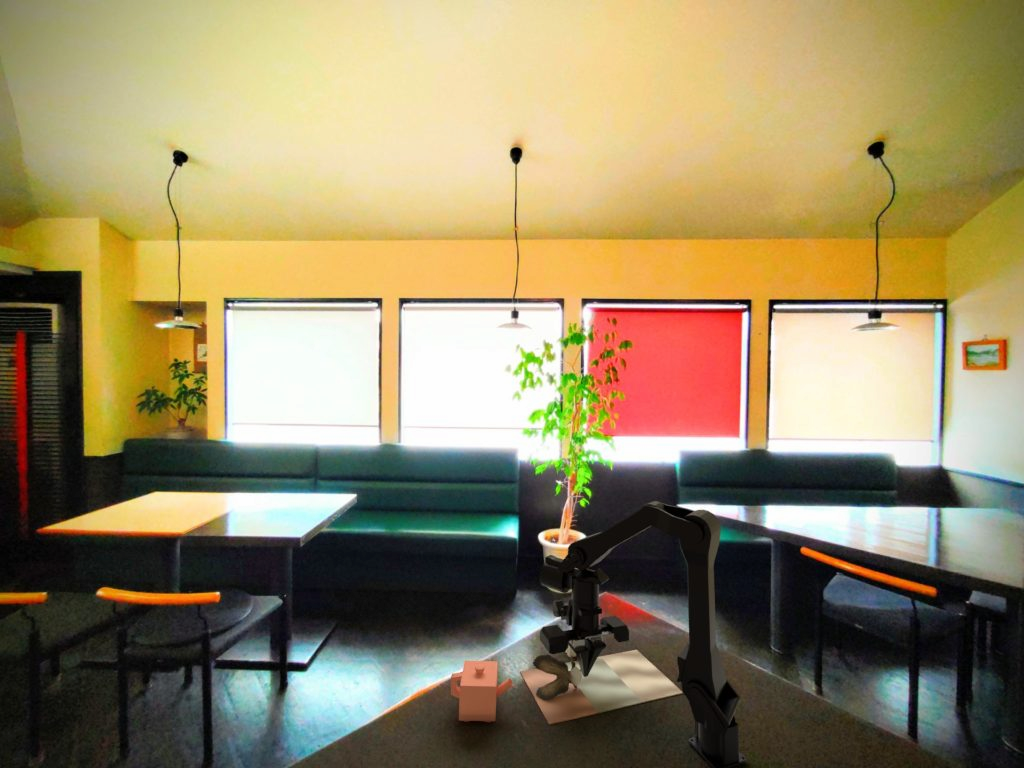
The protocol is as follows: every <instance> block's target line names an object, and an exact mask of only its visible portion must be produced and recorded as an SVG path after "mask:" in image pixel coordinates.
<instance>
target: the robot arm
mask: <svg viewBox="0 0 1024 768" xmlns="http://www.w3.org/2000/svg"><path fill="white" fill-rule="evenodd" d="M650 527H654V528H656V529H658V530H660V531H661V532H663V533H664V534H666V535H668V536H670V537H672V538H676V539H678V543H679V547H680V550H681V553H682V554H683V558H684V559H685V562H686V568H687V569H686V570H687V576H686V577H687V606H688V607H687V608H688V609H687V610H688V643H687V644H686V646H685V647H684V648H683V649H682V651H680V653H679V654H678V655H677V658H676V659H677V660H676V661H677V667H678V677H677V679H676V682H677V683H680V688H681V691H682V692H683V694H682V695H683V696H684V697H685V698H686V699H687V700H688V703H689V705H690V709H691V713H692V714H693V715H692V716H693V719H694V735H695V736H693V737H690V738H689V739H688V743H689V744H690V745H691V746H692V747H693V748H694V750H695V751H696V752H697V753H698V754H699V755H700V756H701V757H702V759H704V760H705V761H706V763H707V764H708V765H709V766H710V767H711V768H733V767H737V766H740V765H744V764H746V763H747V757H746V756H745V755H744V754H743V753H742V752H740V742H739V741H740V737H739V736H740V735H739V734H740V732H739V731H740V730H739V728H740V727H739V724H738V723H737V722H736V718H735V717H736V716H734V715H735V713H736V711H737V708H738V706H739V704H740V702H741V696H740V694H739V693H738V692H737V691H736V689H735V688H734V687H733V686H732V684H731V683H730V681H729V680H728V679H727V677H726V671H725V666H724V662H723V658H722V656H721V653H720V651H719V648H718V646H717V633H716V630H717V629H716V628H717V627H716V602H715V601H716V597H715V595H716V594H715V570H714V569H715V566H714V565H715V560H716V556H717V553H718V550H719V546H720V539H721V533H722V524H721V522H720V519H719V518H718V517H717V516H716V515H715V514H714V513H712V512H711V511H709V510H706V509H696V510H693V509H689V508H688V507H687V508H685V507H681V506H675V505H670V504H667V503H664V502H661V501H657V500H654V501H651V502H647V503H646V504H644V505H642V506H641V508H640V509H637V511H634V512H633V513H631V514H630V515H628V516H627V517H625V518H623V519H621V520H620V521H618V522H616V523H614V524H612V525H611V526H610V527H608V528H606V529H604V530H602V531H600V532H597V533H593V534H591V535H588V536H585V537H583V538H581V539H577V540H575V541H573V542H571V543H570V544H569V545H568V547H567V554H566V556H565V557H564V558H560V557H557V556H556V555H552V554H549V555H546V556H545V557H544V559H545V560H544V563H543V564H542V566H541V569H540V572H539V576H538V577H539V583H540V585H541V586H543V587H546V588H548V589H552V590H555V591H557V592H560V593H563V594H566V593H567V594H568V592H569V591H570V590H571V599H568V602H564V601H563V600H559V599H558V600H553V602H552V612H553V617H555V618H560V619H561V621H565V623H566V625H567V627H571V629H568V630H562V628H561V627H560V626H559V625H558V624H554V625H553V624H552V625H547V626H542V627H541V629H540V631H539V641H540V643H542V645H543V647H544V648H545V649H546V650H547V652H548V653H549V655H557V654H561V653H566V652H565V651H566V650H567V648H568V645H569V646H570V647H571V649H572V650H573V651H574V652H575V653H576V656H575V657H576V659H577V661H578V663H579V666H580V669H581V672H582V675H583V676H584V677H587V676H588V675H589V673H590V671H591V669H592V667H593V665H594V663H595V661H596V659H597V658H598V657H600V655H601V653H602V651H603V650H605V649H607V644H606V643H605V642H604V636H609V635H612V634H613V639H614V640H615V641H616V642H617V643H623V642H628V641H630V639H631V636H630V634H631V631H630V628H629V626H628V625H627V624H626V623H625V622H624V621H623V620H621V619H620V618H619V617H618V616H616V615H610V616H603V617H601V618H600V617H599V615H602V614H603V608H602V607H601V606H600V598H599V597H600V593H599V592H600V586H601V585H603V584H604V583H606V582H607V581H609V579H610V578H609V576H607V574H606V573H604V571H603V570H602V568H598V569H596V570H594V569H590V568H591V567H593V566H595V565H596V564H598V563H600V562H601V561H602V560H603V559H605V557H607V556H608V555H609V554H610V553H611V552H612V550H613V549H615V548H616V547H617V546H619V545H621V544H622V543H623V542H624V543H625V542H626V541H627V540H629V539H631V538H633V537H635V536H636V535H638V534H640V533H641V532H644V531H645V530H647V529H649V528H650Z"/></svg>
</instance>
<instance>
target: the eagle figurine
mask: <svg viewBox="0 0 1024 768" xmlns="http://www.w3.org/2000/svg"><path fill="white" fill-rule="evenodd" d="M573 661H574V657H573V656H571V657H570V662H571V665H572V668H571V671H568V665H567V664H566V663H567V662H565V661H563V660H559V659H557V658H555V657H553V656H551V654H540V655H537V656H536V657H535V658H534V659H533V662H532V664H533V666H534V667H535V668H534V669H539V670H541V671H544V672H546V673H548V674H553V675H556V676H557V677H556V678H555V679H554V681H552V682H550V683H548V684H546V685H545V686H542V687H539V688H538V690H537V692H536V696H537V697H539V698H542V700H543V699H545V700H551V699H553V698H554V697H556V696H557V695H559V694H561V693H562V694H563V693H565V692H566V691H568V689H569V683H572V684H573V685H574V688H576V689H577V685H578V684H579V683H580V681H581V677H582V673H581V670H579V668H577V667H575V666H576V664H575V662H573Z"/></svg>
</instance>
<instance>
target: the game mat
mask: <svg viewBox="0 0 1024 768" xmlns="http://www.w3.org/2000/svg"><path fill="white" fill-rule="evenodd" d="M573 662H575V664H576V666H575V667H577V668H579V670H581V669H580V666H579V663H578V660H575V661H574V660H573ZM565 663H566V664H567V665H568V671H571V668H572V665H571V661H569V662H565ZM519 673H520V675H521V677H522V678H523V680H524V681H525V682H524V683H525V684H526V685H527V687H528V689H529V691H530V694H532V697H533V698H534V700H535V702H536V704H537V706H538V707H539V709H540V710H541V713H542V715H543V717H544V718H545V721H546V722H547V724H548V725H550V726H551V725H554V724H558V723H564V722H567V721H572V720H575V719H580V718H584V717H589V716H592V715H596V714H601V713H605V712H610V711H614V710H618V709H623V708H626V707H627V708H628V707H632V706H635V705H639V704H643V703H648V702H653V701H657V700H661V699H665V698H671V697H674V696H678V695H683V692H682V689H680V688H679V687H678V686H677V685H675V683H674V682H673V681H672V680H670V679H669V678H668V677H667V676H666V675H665V674H664V673H663V672H662V671H660V670H659V668H657V667H656V665H654V664H653V663H652V662H651V661H649V660H648V659H647V657H645V656H644V654H642V653H641V652H640V651H639V650H638V649H633V650H628V651H627V650H626V651H622V652H616V653H612V654H606V655H601V656H600V655H599V656H598V658H597V659H596V661H595V663H594V665H593V667H592V669H591V671H590V673H589V675H588V676H587V677H584V676H583V675H582V677H581V681H580V683H579V684H578V685H577V689H576V688H574V685H573V684H572V683H569V689H568V691H566V692H565V693H563V694H562V693H561V694H559V695H557V696H556V697H554V698H553V699H551V700H545V699H543V700H542V698H539V697H537V696H536V692H537V690H538V688H539V687H542V686H545V685H546V684H548V683H550V682H552V681H554V679H555V678H556V677H557V676H556V675H553V674H548V673H546V672H544V671H541V670H539V669H536V668H532V669H531V668H530V669H526V670H521V671H519ZM581 673H582V672H581Z"/></svg>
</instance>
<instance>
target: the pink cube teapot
mask: <svg viewBox="0 0 1024 768" xmlns="http://www.w3.org/2000/svg"><path fill="white" fill-rule="evenodd" d="M498 667H499V666H498V661H497V660H495V661H494V660H464V662H463V667H462V668H463V669H462V672H460V671H459V672H454V673H451V676H450V695H451V696H452V697H455V698H456V699H458V700H459V702H458V703H459V705H458V721H462V722H465V723H466V722H467V723H468V722H484V723H485V722H486V723H491V722H496V716H497V715H496V714H497V698H498V697H501V695H503V694H505V693H506V692H507V691H509V690H511V689H512V688H513V687H514V686H515V685H514V682H513V680H512V678H510V677H508V678H507V679H506V680H504V681H503V682H502V683H500V684H499V685H498ZM458 681H460V684H459V686H458Z"/></svg>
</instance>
